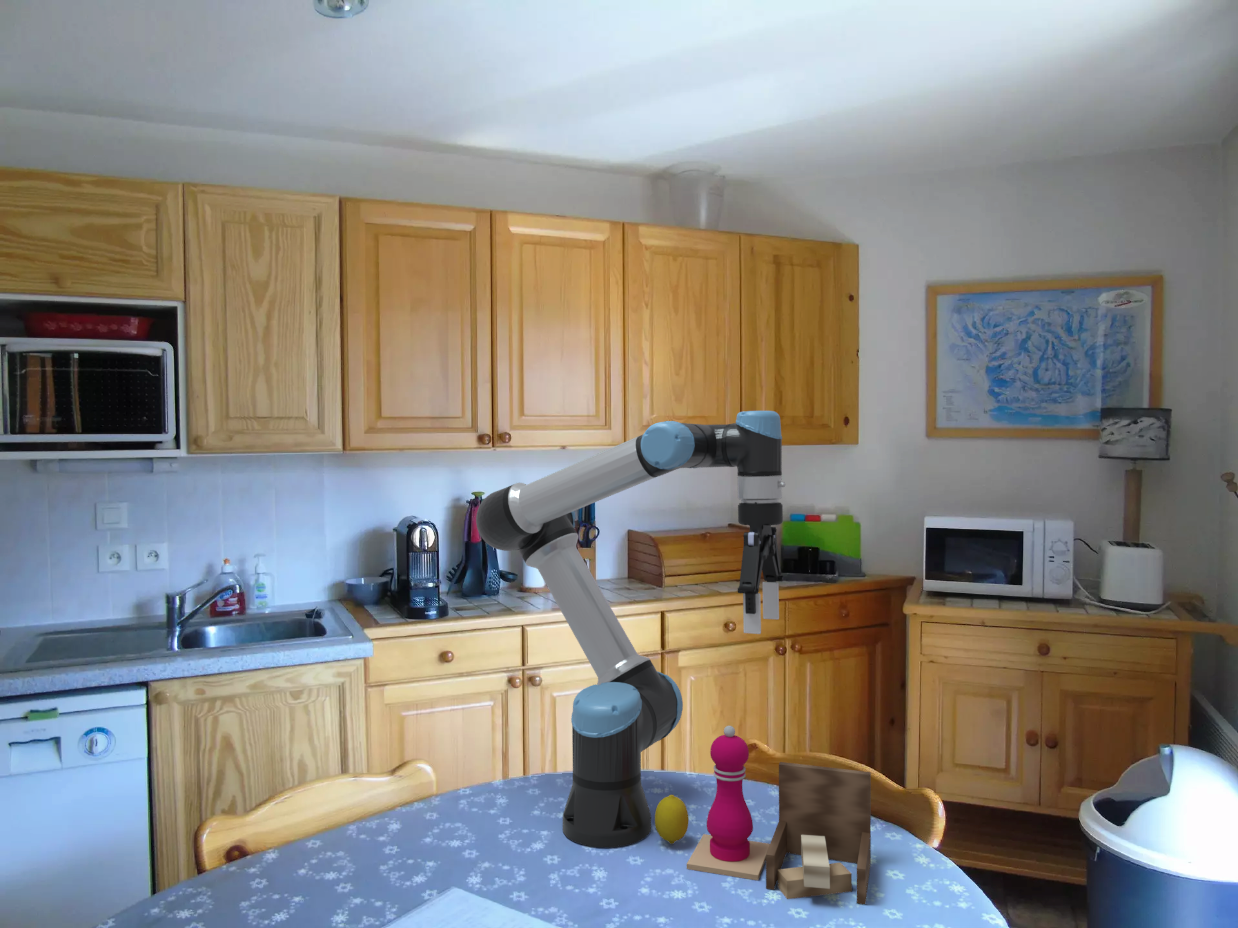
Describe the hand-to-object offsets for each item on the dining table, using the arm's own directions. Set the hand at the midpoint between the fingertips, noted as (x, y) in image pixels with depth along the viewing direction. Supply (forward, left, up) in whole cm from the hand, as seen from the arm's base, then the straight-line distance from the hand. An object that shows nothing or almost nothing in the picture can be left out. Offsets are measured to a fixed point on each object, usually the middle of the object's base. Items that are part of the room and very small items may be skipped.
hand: (762, 625), depth 145 cm
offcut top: (+11, -19, -32) cm, 38 cm away
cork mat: (-3, -13, -34) cm, 37 cm away
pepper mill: (-3, -13, -34) cm, 36 cm away
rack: (+11, -14, -34) cm, 39 cm away
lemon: (-13, -11, -35) cm, 39 cm away
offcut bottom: (+11, -19, -35) cm, 41 cm away
